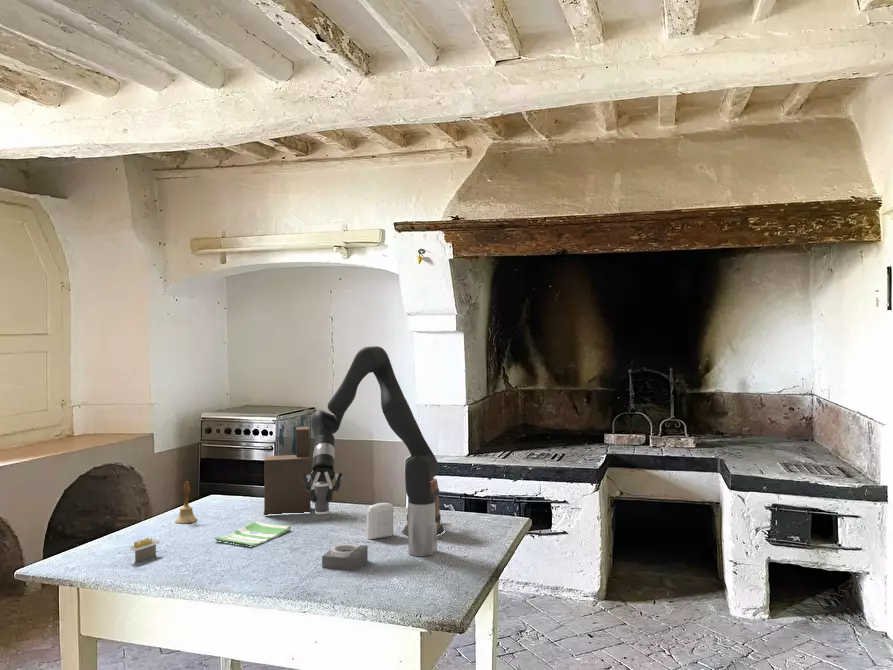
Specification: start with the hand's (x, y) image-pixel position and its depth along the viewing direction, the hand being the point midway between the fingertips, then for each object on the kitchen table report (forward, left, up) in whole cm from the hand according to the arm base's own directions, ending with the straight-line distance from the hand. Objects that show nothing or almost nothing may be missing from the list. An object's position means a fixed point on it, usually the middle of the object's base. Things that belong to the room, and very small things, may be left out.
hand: (321, 501), depth 218 cm
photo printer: (-11, -27, -19) cm, 35 cm away
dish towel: (+35, -17, -20) cm, 43 cm away
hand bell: (+73, -30, -19) cm, 81 cm away
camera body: (-10, +4, -19) cm, 22 cm away
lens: (+1, -2, -4) cm, 5 cm away
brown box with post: (+39, -53, -19) cm, 68 cm away
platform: (+57, +14, -19) cm, 62 cm away
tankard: (-25, -40, -19) cm, 51 cm away
